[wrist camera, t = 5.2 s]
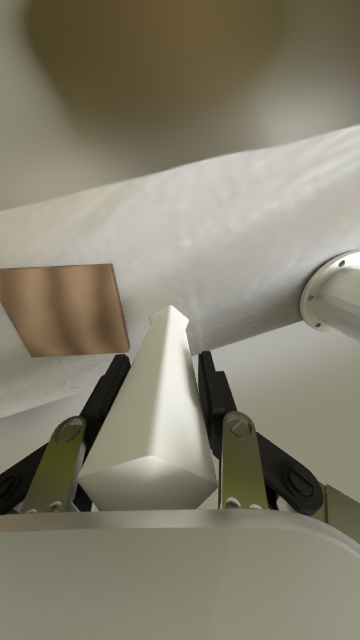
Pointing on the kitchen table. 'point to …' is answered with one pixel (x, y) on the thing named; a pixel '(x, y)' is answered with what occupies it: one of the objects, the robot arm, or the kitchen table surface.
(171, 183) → the kitchen table surface
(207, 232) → the kitchen table surface
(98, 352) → the walnut board
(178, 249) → the kitchen table surface
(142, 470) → the white tall faceted piece
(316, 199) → the kitchen table surface
